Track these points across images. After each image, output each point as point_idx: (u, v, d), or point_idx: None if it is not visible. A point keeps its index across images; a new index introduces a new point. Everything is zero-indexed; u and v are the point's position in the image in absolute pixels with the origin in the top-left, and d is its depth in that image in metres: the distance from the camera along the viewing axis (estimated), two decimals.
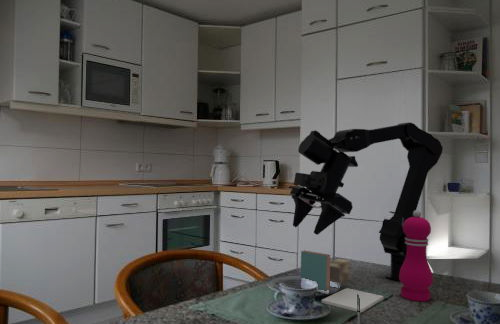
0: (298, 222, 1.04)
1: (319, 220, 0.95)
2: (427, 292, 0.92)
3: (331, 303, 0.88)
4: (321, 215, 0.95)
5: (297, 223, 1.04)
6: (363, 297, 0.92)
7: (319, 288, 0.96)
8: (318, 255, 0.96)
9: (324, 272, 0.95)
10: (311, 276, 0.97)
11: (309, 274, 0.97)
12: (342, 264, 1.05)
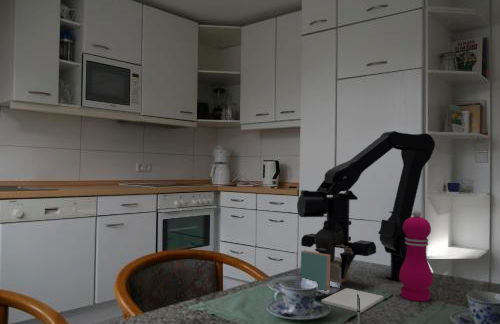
0: None
1: (343, 267, 1.04)
2: (427, 292, 0.92)
3: (331, 303, 0.88)
4: (343, 263, 1.04)
5: None
6: (363, 297, 0.92)
7: (319, 288, 0.96)
8: (318, 255, 0.96)
9: (324, 272, 0.95)
10: (311, 276, 0.97)
11: (309, 274, 0.97)
12: None
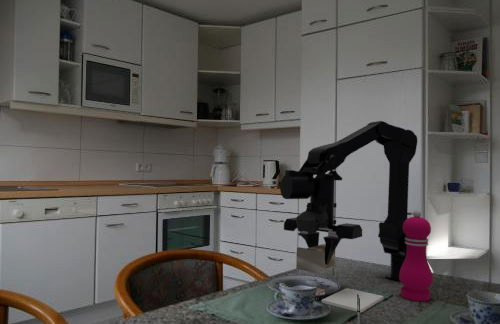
0: None
1: (327, 252, 0.97)
2: (427, 292, 0.92)
3: (331, 303, 0.88)
4: (327, 247, 0.97)
5: None
6: (363, 297, 0.92)
7: None
8: None
9: None
10: None
11: None
12: None
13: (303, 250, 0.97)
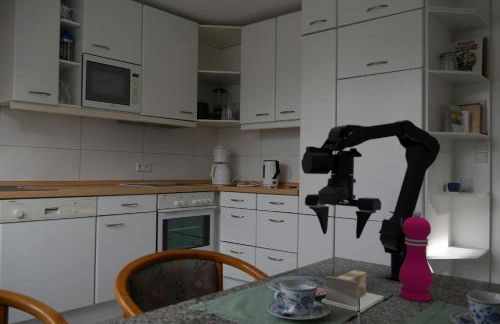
0: (326, 228, 1.08)
1: (358, 226, 1.00)
2: (427, 292, 0.92)
3: (331, 303, 0.88)
4: (359, 221, 1.00)
5: (326, 229, 1.08)
6: (363, 297, 0.92)
7: None
8: None
9: None
10: None
11: None
12: (358, 277, 0.90)
13: (333, 279, 0.88)
